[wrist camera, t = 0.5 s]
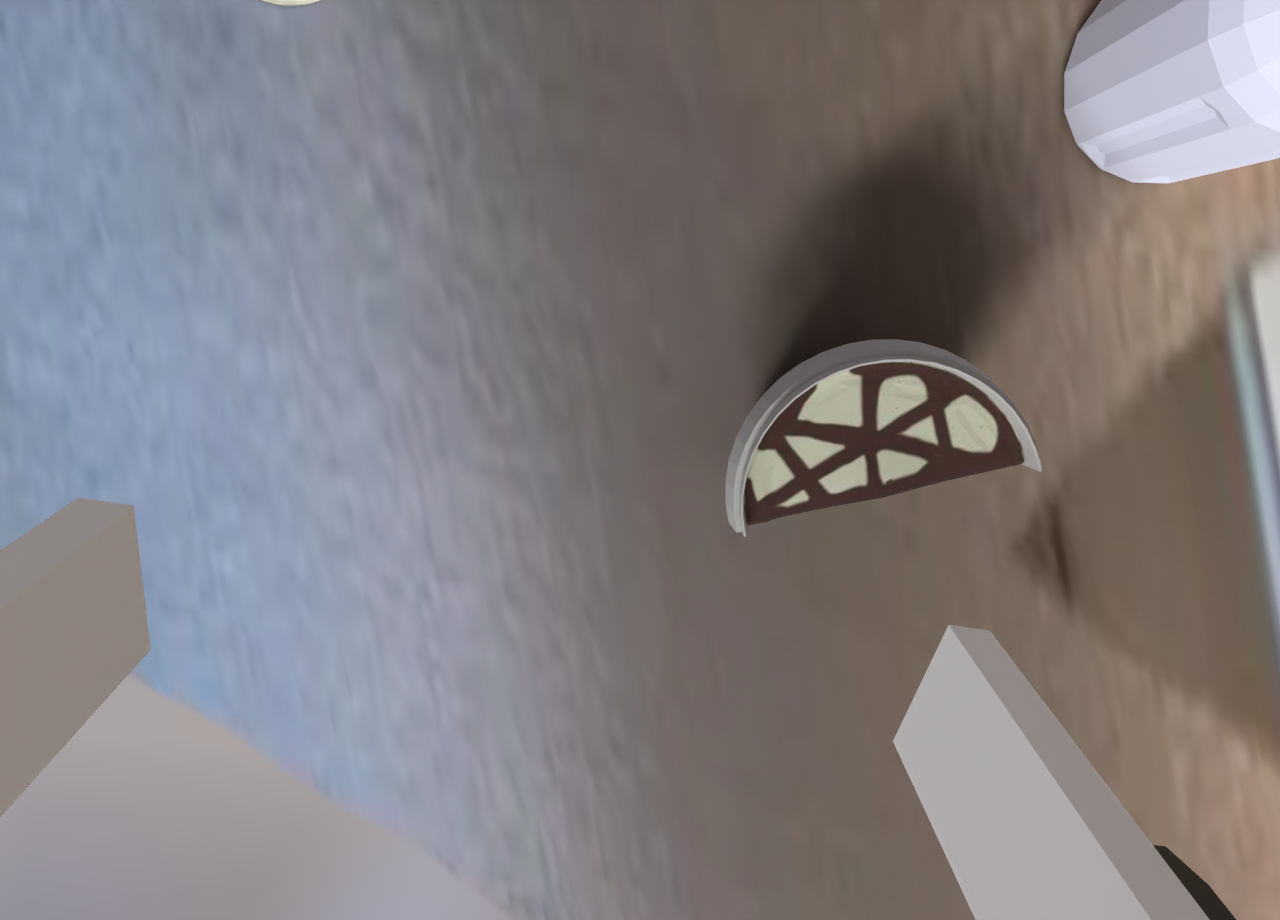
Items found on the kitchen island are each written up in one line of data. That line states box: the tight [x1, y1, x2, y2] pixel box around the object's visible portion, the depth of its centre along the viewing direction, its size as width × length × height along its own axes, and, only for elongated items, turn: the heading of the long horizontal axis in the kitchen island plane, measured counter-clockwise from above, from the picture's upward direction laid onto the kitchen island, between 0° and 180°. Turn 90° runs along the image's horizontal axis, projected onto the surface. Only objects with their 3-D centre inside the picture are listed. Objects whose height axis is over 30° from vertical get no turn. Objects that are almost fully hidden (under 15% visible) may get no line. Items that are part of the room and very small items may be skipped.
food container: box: [726, 339, 1042, 537], centre depth 31 cm, size 12×6×10 cm, turn 105°
